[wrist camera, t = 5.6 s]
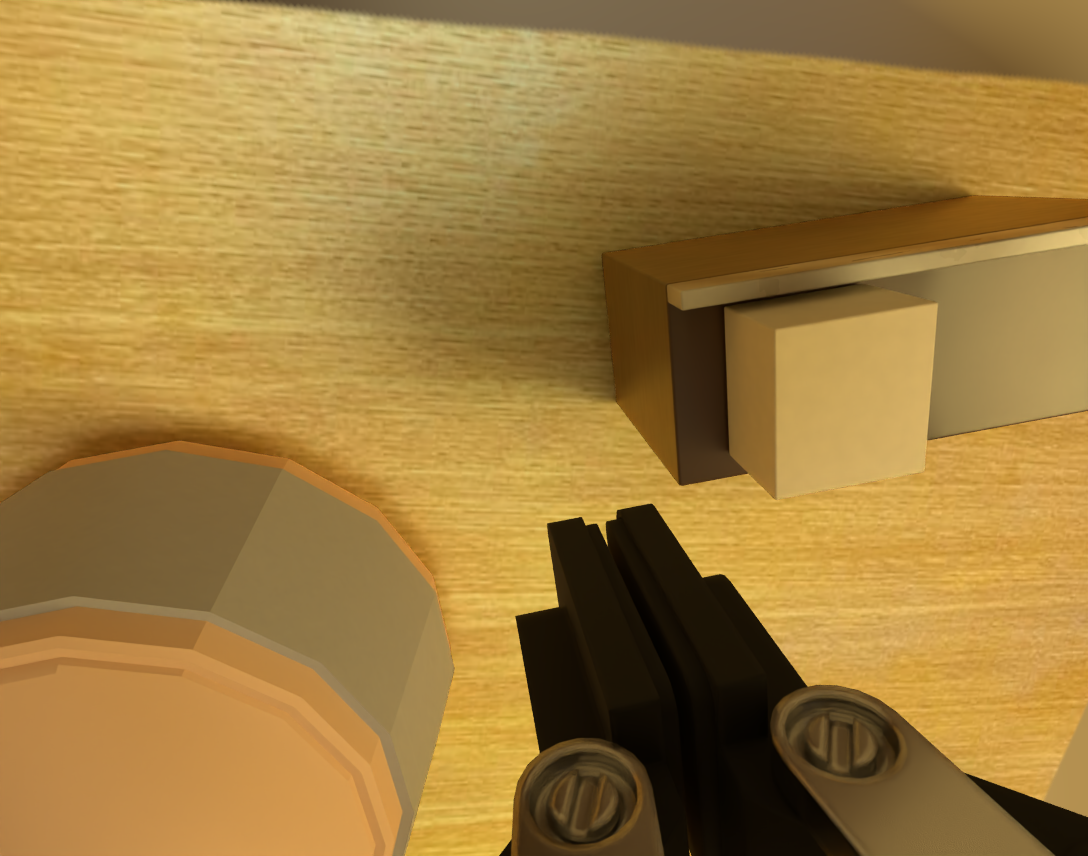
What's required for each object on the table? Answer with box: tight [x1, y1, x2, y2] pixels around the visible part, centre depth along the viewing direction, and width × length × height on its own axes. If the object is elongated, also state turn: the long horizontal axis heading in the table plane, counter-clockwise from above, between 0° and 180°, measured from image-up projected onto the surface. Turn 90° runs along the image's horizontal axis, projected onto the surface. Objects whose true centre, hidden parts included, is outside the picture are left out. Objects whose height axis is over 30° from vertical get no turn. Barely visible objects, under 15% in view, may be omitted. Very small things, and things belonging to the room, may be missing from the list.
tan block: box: [724, 284, 938, 500], centre depth 18 cm, size 4×4×3 cm
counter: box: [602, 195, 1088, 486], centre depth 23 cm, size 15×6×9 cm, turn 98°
